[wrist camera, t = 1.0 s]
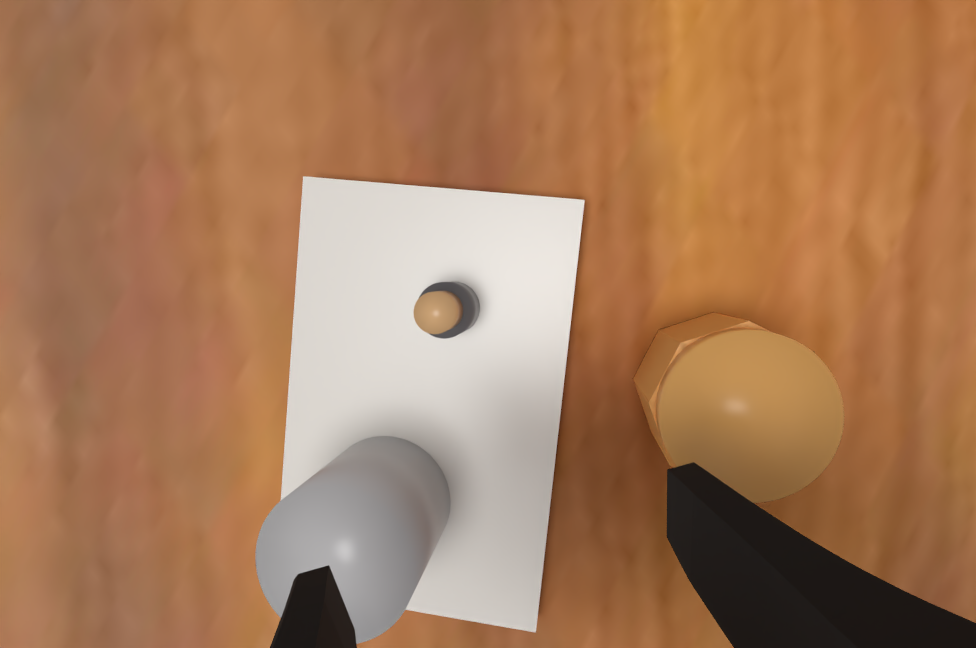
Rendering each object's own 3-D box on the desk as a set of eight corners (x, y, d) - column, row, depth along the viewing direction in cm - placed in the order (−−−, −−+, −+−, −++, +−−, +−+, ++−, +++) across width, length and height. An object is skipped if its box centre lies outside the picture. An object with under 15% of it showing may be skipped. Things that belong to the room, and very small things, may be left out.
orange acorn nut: (803, 354, 22) (879, 379, 17) (736, 473, 23) (789, 533, 18) (676, 294, 23) (711, 299, 17) (614, 412, 23) (629, 453, 18)
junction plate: (583, 203, 23) (590, 174, 16) (537, 615, 25) (526, 739, 18) (316, 181, 24) (222, 145, 18) (288, 572, 26) (192, 673, 19)
